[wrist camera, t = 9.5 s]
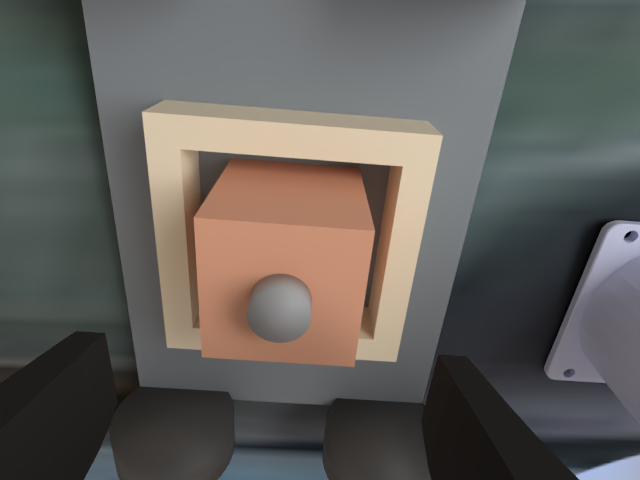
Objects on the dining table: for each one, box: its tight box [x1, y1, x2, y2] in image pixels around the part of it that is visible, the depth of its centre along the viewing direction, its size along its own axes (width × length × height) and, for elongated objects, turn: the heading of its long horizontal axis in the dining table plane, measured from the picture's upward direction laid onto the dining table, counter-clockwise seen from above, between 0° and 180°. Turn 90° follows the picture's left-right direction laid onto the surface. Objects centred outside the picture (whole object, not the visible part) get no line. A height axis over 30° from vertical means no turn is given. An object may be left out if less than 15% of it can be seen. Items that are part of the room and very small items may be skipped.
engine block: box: [194, 158, 375, 367], centre depth 13 cm, size 4×4×6 cm
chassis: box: [81, 0, 526, 480], centre depth 15 cm, size 14×21×5 cm, turn 176°
